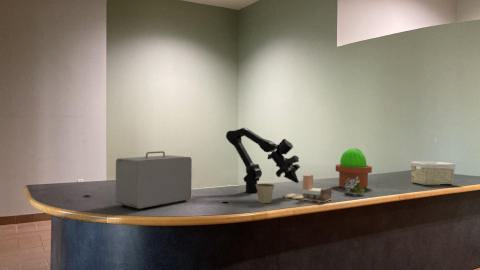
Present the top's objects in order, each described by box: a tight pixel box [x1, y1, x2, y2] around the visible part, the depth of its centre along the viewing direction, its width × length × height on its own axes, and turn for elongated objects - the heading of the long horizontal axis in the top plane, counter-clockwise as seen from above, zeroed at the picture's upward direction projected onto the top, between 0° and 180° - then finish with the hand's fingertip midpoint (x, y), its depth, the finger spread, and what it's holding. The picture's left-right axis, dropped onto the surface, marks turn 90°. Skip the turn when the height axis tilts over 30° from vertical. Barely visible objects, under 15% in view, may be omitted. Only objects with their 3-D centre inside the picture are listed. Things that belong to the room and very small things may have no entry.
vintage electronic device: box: [115, 150, 193, 212], centre depth 178 cm, size 32×18×25 cm, turn 141°
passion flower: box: [344, 177, 368, 196], centre depth 211 cm, size 11×11×12 cm
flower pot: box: [256, 183, 276, 204], centre depth 184 cm, size 9×9×9 cm
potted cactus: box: [335, 148, 373, 190], centre depth 237 cm, size 22×22×25 cm
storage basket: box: [410, 161, 456, 186], centre depth 256 cm, size 24×16×15 cm
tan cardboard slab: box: [282, 186, 333, 203], centre depth 195 cm, size 23×10×6 cm, turn 56°
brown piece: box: [301, 174, 322, 199], centre depth 192 cm, size 10×8×11 cm
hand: (298, 182), depth 197 cm, fingers closed
